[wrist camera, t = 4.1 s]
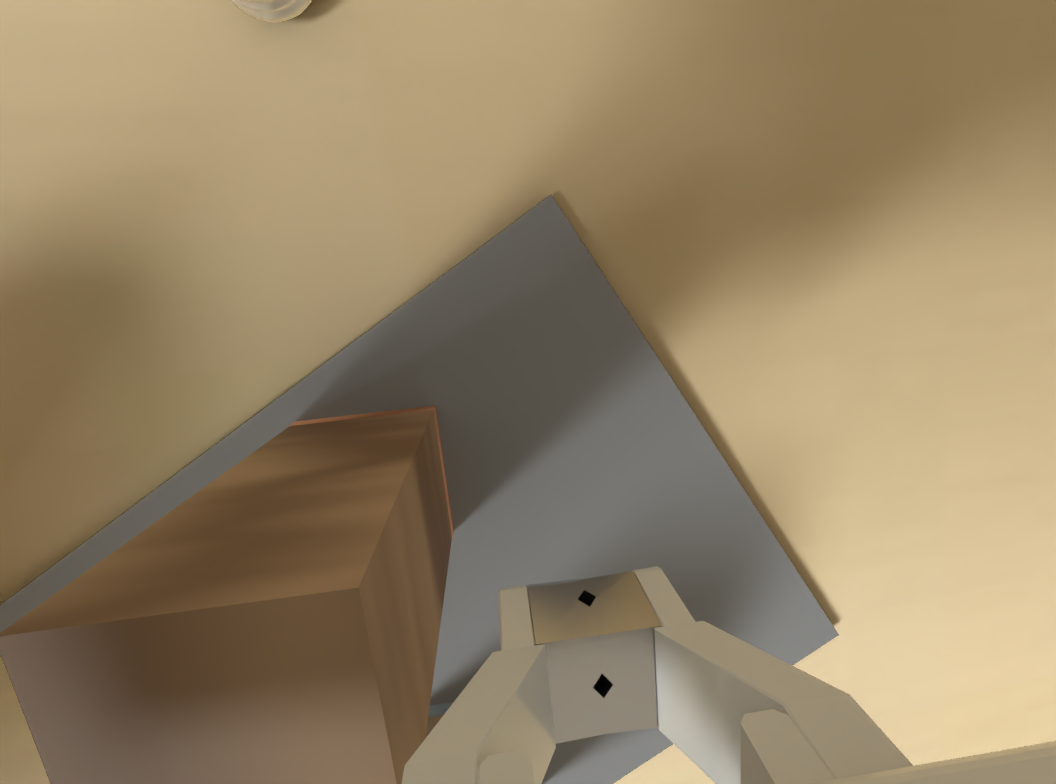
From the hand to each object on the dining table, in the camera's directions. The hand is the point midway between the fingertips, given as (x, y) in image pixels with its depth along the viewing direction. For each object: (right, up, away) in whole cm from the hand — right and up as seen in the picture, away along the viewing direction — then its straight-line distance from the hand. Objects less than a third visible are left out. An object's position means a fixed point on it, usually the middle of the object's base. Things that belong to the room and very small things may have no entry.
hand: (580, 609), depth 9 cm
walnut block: (-6, +1, +7) cm, 10 cm away
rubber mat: (-4, -5, +9) cm, 11 cm away
